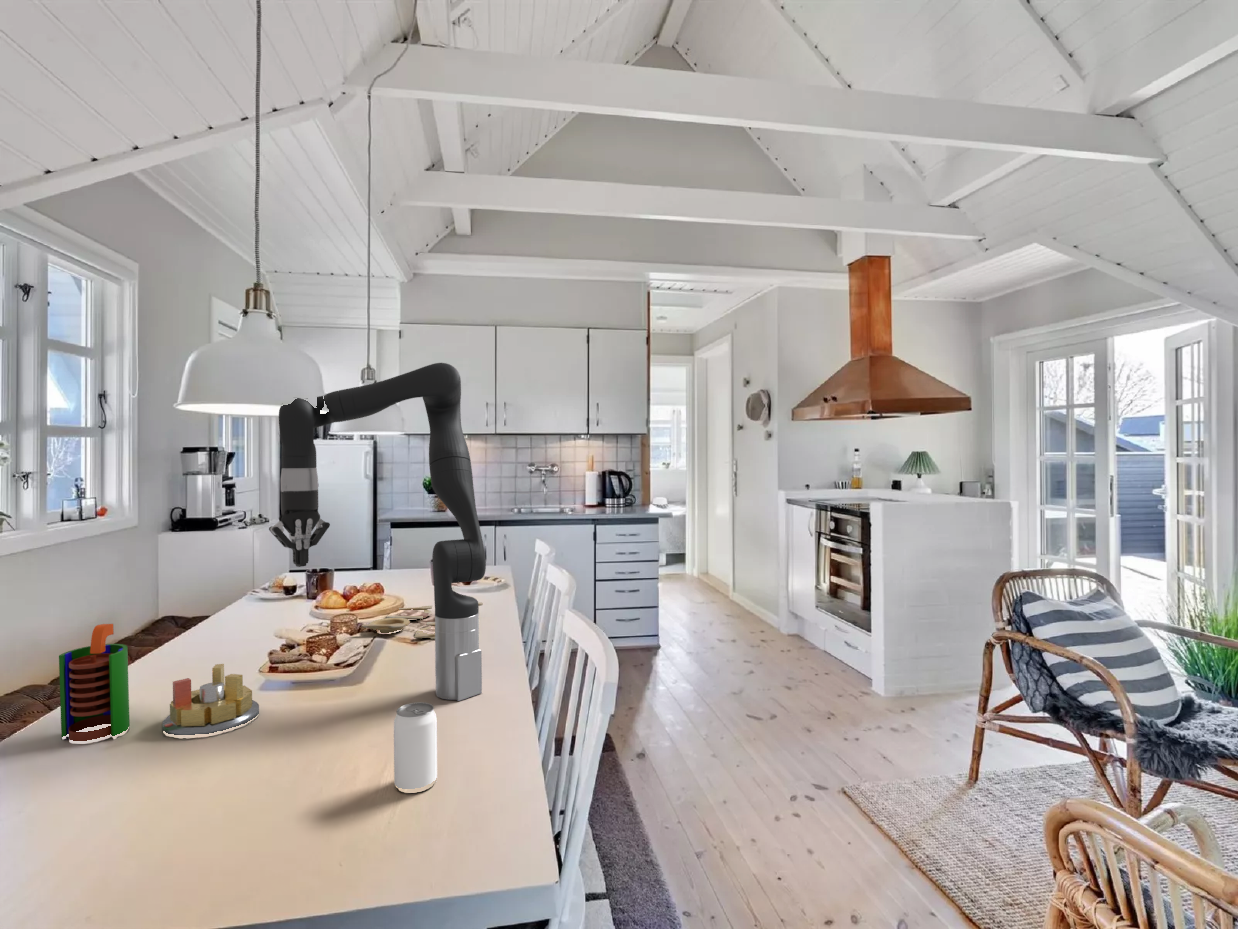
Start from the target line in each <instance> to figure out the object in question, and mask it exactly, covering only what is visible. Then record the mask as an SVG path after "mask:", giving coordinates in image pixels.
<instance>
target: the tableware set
mask: <svg viewBox="0 0 1238 929" xmlns="http://www.w3.org/2000/svg"><path fill="white" fill-rule="evenodd" d="M478 605H479V607H480V606H483V605H484V602H478ZM398 608H399V610H411V609H413V610H424V612H425V613H432V611H431V609H433V605H425V606H424V605H423V606H417V607H416V606H413V607H398ZM408 619H420V621H422V620H424V619H423V616H388V615H386V616H385V617H384V618H381V619H376V620H373V621H370V622H369V623H365V624H362V625H361V628H362V627H364V628H363V629H370V630H372V629H373V631H375V630H376V629H378V630H380V632H381V633H389V632H394V631H397V630H401V629H402V628H403V629H404V628H405V627H407V626H408V625H410V622H411V621H409V620H408ZM421 619H422V620H421ZM425 624H426V626H425V627H422V628H420V629H418V630H427V629H429V628H431V627H429V626H435V621H432V622H431V621H428V622H426V623H425ZM403 629H402V630H403ZM418 630H416V631H417V632H416V631H415V633H420V634H414V636H413V638H414V639H422V638H431V639H430V640H435V633H434V634H427V633H423V631H418Z"/></svg>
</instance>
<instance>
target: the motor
mask: <svg viewBox="0 0 1238 929" xmlns="http://www.w3.org/2000/svg"><path fill="white" fill-rule="evenodd" d="M114 634H115V632H114V623H102V624H97V625H95V626H94V628H93V629H92V634H91V639H90V646H89V645H88V646H84V647H78V648H75V649H72V650H67V651H65V652H63V653H61V654H59V655H58V666H59V667H58V669H59V672H58V673H59V676H58V677H59V700H60V701H59V702H60V730H61V734H60V735H61V737H63V736H66V735H67V734H69V738H68V740H69V739H70V740H73V741H87V740H92V739H97V738H100V737H105V736H107V735H110V734H111V735H112V736H115V735H117V734H120V733H122V732H123V731H126V730H127V729H128V727H129V726H131V725H130V723H131V722H130V694H129V692H130V691H129V688H130V687H129V661H128V660H129V656H128V652H129V651H128V645H126V644H124V643H106V641H107V637H108V636H111V635H112V636H113V635H114ZM102 724H111V726H108V727H106V728H102V729H99V730H94V731H88V732H76V731H79V730H82V729H84V728H87V727H94V726H97V725H102Z"/></svg>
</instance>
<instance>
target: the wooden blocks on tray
mask: <svg viewBox="0 0 1238 929" xmlns="http://www.w3.org/2000/svg"><path fill="white" fill-rule="evenodd" d="M211 671H212V673H211V674H212V675H211V676H212V682H211V683H213V682H222V683H224V700H222V701H218V702H214V703H210V704H200V688H198V689H196V690H195V689H194V690H192V679H191V678H188V677H187V678H182V679H179V680H175V681H174V680H173V681H172V700H171V701H170V703H169V715H170V720H171V721H172V722H173V723H175V724H176V725H180V724H181V726H205V725H206V724H207V723H210V724H215V723H219V722H223V721H226V720H230V719H233V718H236V716H239V715H242V714H244V713H245V712H246V711H248V710H249V709H250V708H251V707H252V700H253V690H252V689H251V688H249V687H248V686H246V685H243V684H244V682H243V674H237V673H230V674H227V675H225V663H217V664H214V666H213V667H212V668H211Z"/></svg>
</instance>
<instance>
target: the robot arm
mask: <svg viewBox="0 0 1238 929" xmlns="http://www.w3.org/2000/svg"><path fill="white" fill-rule="evenodd" d="M323 396H324V399H323ZM316 397H317V406H316V407H317V408H314V407H313V406H312V405H311V404H310V403H309V402H308V401H306V400H304V399H305V398H301V397H296V398H297V399H295V400H294V401H293V402H292V403H291V404H288V405H283V406H281V405H280V407H279V411H278V426H279V434H280V435H279V436H280V441H281V473H280V510H281V512H280V516H279V517H278V520H279V521H278V522H277V523H275V525H271V526H269V527H268V530H269V532H270V533H271V534H272V535H273V536H274V537H275V538H276V540H277V541H279V543H280V544H281V546H282V547H284V548H287V549H291V550H292V563H293V565H295V567H298V568H302V567H306V566H307V564H309V562H310V560H309V559H310V558H309V555H310V554H309V550H310V549H311V547H314V546H316V545H318V543H319V541H321V539H322V538H323V536H324V534H325V533H326V532H327V530H328V529H329V528H330V526H331V524H330V522H326V521H325V520H323V519H322V518H321V515H320V513H319V487H320V486H319V476H318V470H317V467H318V466H317V448H316V445H315V443H314V441H315V440H314V439H315V434H314V433H315V432H314V429H316V428H319V427H320V428H321V427H323V426H327V425H331V424H334V423H341V422H346V421H352V420H357V419H361V418H362V419H363V418H367V417H369V416H372V415H375V414H378V413H380V412H382V411H384V410H385V409H387V408H389V407H392V406H393V405H395V404H398V403H400V402H404V401H407V400H411V399H415V398H416V399H417V398H422V399H423V403H424V407H425V412H426V416H427V420H428V425H429V432H430V433H429V444H428V445H429V446H428V464H429V465H428V466H429V473H430V474H429V476H430V484H431V487H432V490H433V492H434V493H435V495H436V496H437V497H438V499H440V501H441V502H442V504H443V505H444V506H445V507H446V508H447V509H448V510H449V511H450V513H451V514H452V515H453V517H454V518H455V520H456V522H457V523H458V525H459V528H460V530H461V533H462V536H463V539H460V538H459V539H448V540H441V541H437V542H436V543H435V544H434V545H433V550H432V559H431V561H432V563H431V564H432V572H433V573H432V574H433V576H432V577H433V593H434V594H433V595H434V596H433V597H434V598H433V599H434V600H433V601H434V622H435V639H434V648H435V649H434V653H435V655H434V656H435V658H434V659H435V660H434V661H435V662H434V663H435V669H434V670H435V671H434V672H435V695H436V697H437V698H439V699H442V700H451V701H457V702H459V701H464V700H466V699H468V698H471V697H474V696H477V695H480V694H482V690H483V686H482V685H483V682H482V681H483V680H482V679H483V678H482V677H483V676H482V675H483V672H482V667H483V666H482V665H483V664H482V659H483V658H482V656H483V655H482V650H481V649H480V643H479V642H480V635H479V634H480V630H479V629H480V628H479V625H480V624H479V623H480V622H479V619H480V616H479V614H480V613H479V611H480V610H479V609H480V608H479V607H480V606H479V605H478V603H479V601H478V600H477V598H475V597H473V596H470V595H466V594H462V593H461V594H460V593H458V592H456V591H454V590H453V584H458V583H466V582H477V581H481V580H482V579H483V578H484V576H485V574H486V571H487V560H486V551H485V546H484V542H483V537H482V532H481V526H480V523H479V522H480V521H479V518H478V512H477V505H476V496H475V488H474V479H473V478H474V477H473V469H472V461H471V455H470V452H469V451H470V450H469V448H468V445H467V444H468V443H467V441H466V438H465V436H464V432H463V428H462V422H461V421H462V420H461V419H462V418H461V416H462V414H461V399H462V380H461V375H460V372H459V371H458V370H457V368H456V367H455V366H453V365H451V364H449V363H447V362H435V363H431V364H429V365H425V366H422V367H419V368H417V369H414V370H411V371H408V372H405V373H403V374H399V375H397V376H394V377H391V378H388V379H383V380H381V381H377V382H374V383H369V384H364V385H362V386H361V385H360V386H355V387H350V388H344V389H339V390H335V391H330V392H328V393H327V394H325V395H319V396H316ZM324 401H325V404H326V405H327V408H328V409H329V412H327V413H326V414H320V410H322V408H323V407H324ZM315 527H316V529H315ZM284 529H285V530H286V531H287V533H288V535H289V537H288V536H287V535H286V534H285V533H284V531H285V530H284Z"/></svg>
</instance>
